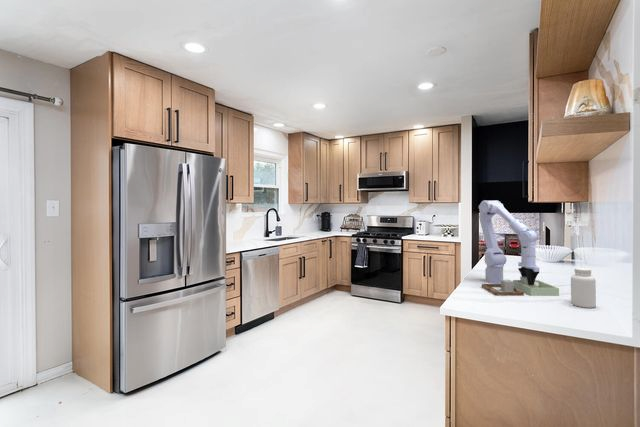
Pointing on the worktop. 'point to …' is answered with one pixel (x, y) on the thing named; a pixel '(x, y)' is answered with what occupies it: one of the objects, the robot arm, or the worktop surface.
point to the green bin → (537, 289)
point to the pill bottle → (583, 288)
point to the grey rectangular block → (525, 281)
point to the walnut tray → (497, 293)
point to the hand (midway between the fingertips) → (528, 283)
